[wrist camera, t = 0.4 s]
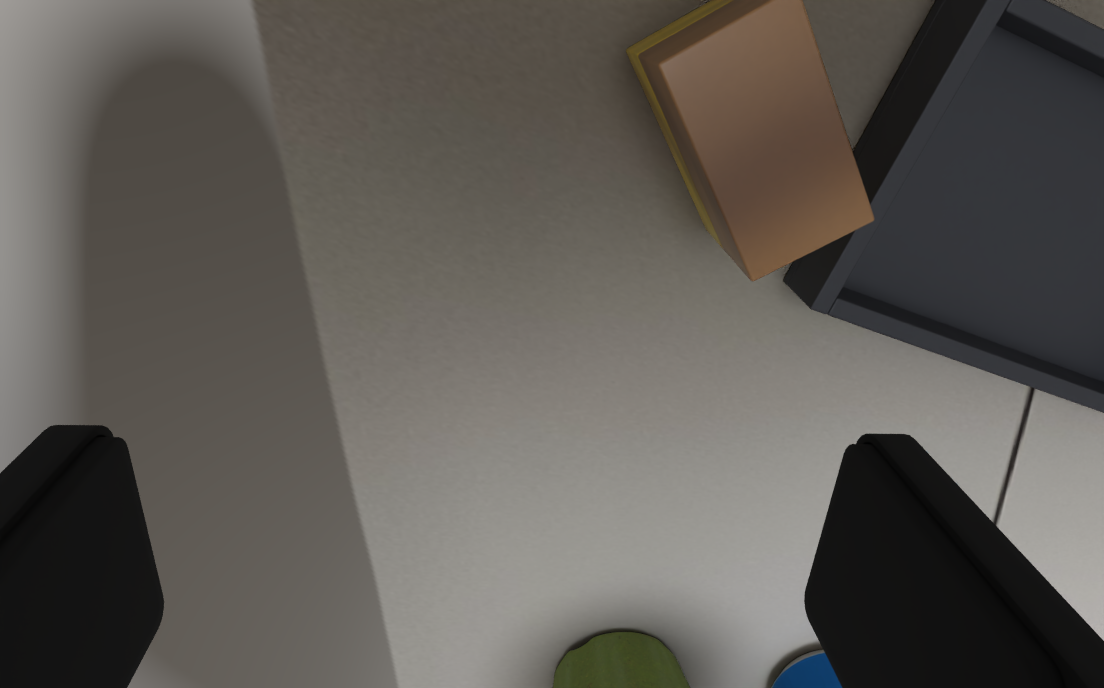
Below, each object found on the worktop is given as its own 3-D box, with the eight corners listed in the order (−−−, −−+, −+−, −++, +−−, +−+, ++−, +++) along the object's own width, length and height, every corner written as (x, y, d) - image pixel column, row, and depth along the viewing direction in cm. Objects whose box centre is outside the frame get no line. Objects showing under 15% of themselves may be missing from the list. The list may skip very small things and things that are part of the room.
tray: (782, 280, 31) (810, 308, 29) (947, -23, 26) (1000, -24, 24) (1124, 404, 36) (1177, 439, 33) (1321, 162, 31) (1403, 179, 28)
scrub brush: (624, 49, 27) (657, 64, 21) (736, -15, 26) (798, -16, 21) (706, 230, 30) (752, 283, 25) (806, 178, 29) (876, 220, 24)
